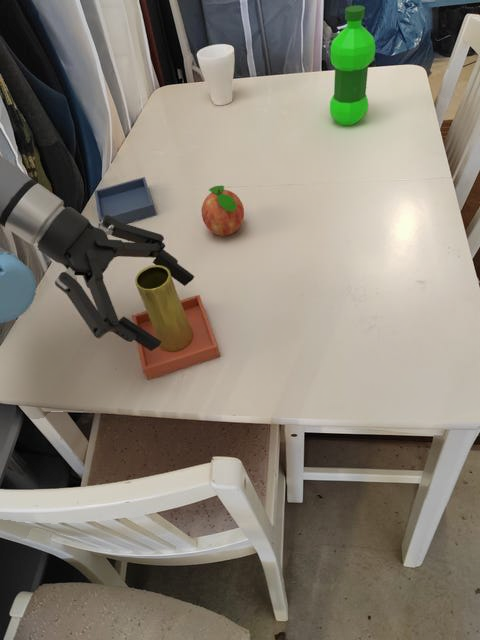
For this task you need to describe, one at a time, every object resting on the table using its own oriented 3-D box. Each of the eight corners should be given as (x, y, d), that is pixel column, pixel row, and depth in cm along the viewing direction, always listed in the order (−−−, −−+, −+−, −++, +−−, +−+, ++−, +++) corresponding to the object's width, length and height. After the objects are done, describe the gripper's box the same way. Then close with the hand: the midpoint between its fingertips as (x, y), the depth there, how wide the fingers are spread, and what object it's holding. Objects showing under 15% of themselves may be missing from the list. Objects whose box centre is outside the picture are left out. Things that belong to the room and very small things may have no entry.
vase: (186, 354, 72) (165, 294, 61) (152, 349, 74) (125, 290, 63) (197, 325, 76) (178, 264, 65) (164, 321, 77) (140, 261, 66)
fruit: (211, 248, 89) (201, 207, 82) (201, 221, 96) (191, 181, 88) (251, 237, 90) (246, 195, 83) (239, 211, 96) (233, 170, 89)
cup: (219, 112, 128) (211, 62, 117) (198, 103, 134) (189, 53, 123) (247, 98, 131) (241, 48, 121) (225, 90, 137) (218, 41, 127)
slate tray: (103, 230, 98) (98, 220, 96) (98, 200, 106) (94, 190, 104) (156, 214, 99) (153, 204, 97) (147, 187, 107) (144, 176, 105)
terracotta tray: (147, 380, 71) (142, 370, 69) (136, 325, 79) (131, 315, 76) (220, 356, 72) (217, 346, 70) (202, 305, 80) (199, 294, 78)
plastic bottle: (328, 131, 113) (331, 19, 94) (328, 112, 120) (331, 3, 101) (368, 129, 112) (380, 14, 93) (366, 110, 118) (377, -2, 99)
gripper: (86, 189, 72) (190, 267, 79) (-10, 301, 57) (128, 385, 64) (103, 160, 66) (213, 248, 73) (1, 276, 51) (151, 371, 59)
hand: (174, 312), depth 69 cm, fingers open, 13 cm apart
